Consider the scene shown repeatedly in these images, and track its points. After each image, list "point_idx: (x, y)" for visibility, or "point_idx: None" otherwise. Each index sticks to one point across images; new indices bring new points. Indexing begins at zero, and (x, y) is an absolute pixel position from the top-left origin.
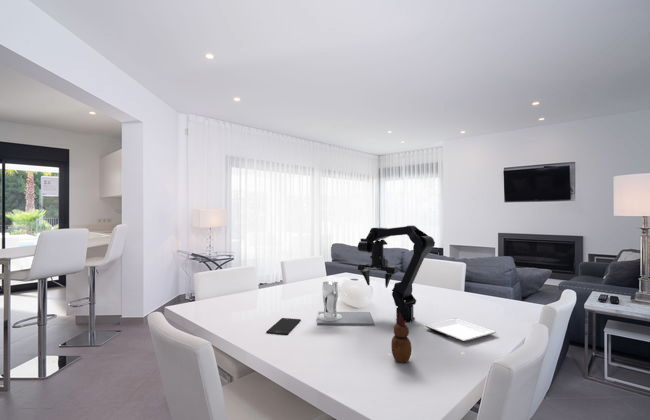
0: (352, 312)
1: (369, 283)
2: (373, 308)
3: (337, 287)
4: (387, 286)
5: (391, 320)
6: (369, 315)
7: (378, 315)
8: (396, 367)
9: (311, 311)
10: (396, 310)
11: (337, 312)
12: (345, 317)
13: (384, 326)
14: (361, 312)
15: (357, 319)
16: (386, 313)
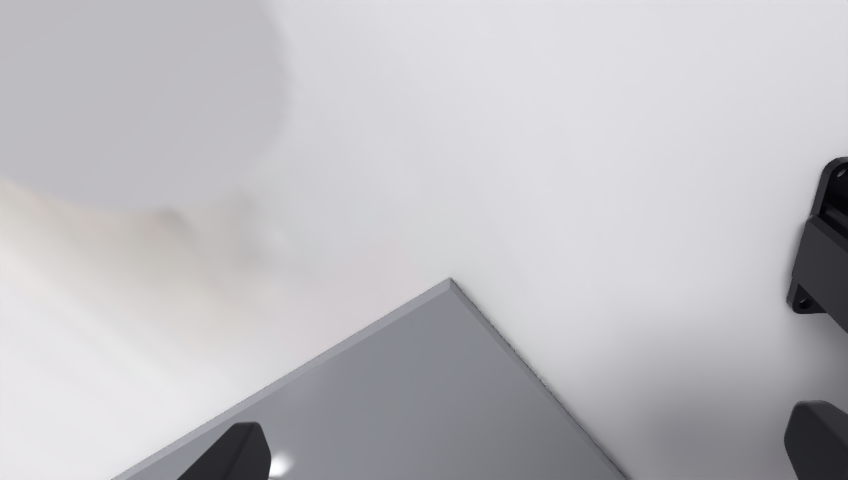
0: (316, 388)
1: (241, 450)
2: (361, 58)
3: None
4: (846, 424)
5: (737, 332)
6: (504, 378)
7: (556, 274)
8: None
9: (25, 477)
10: (838, 323)
11: None
12: None
13: (712, 468)
14: (385, 347)
15: None
16: (613, 157)
